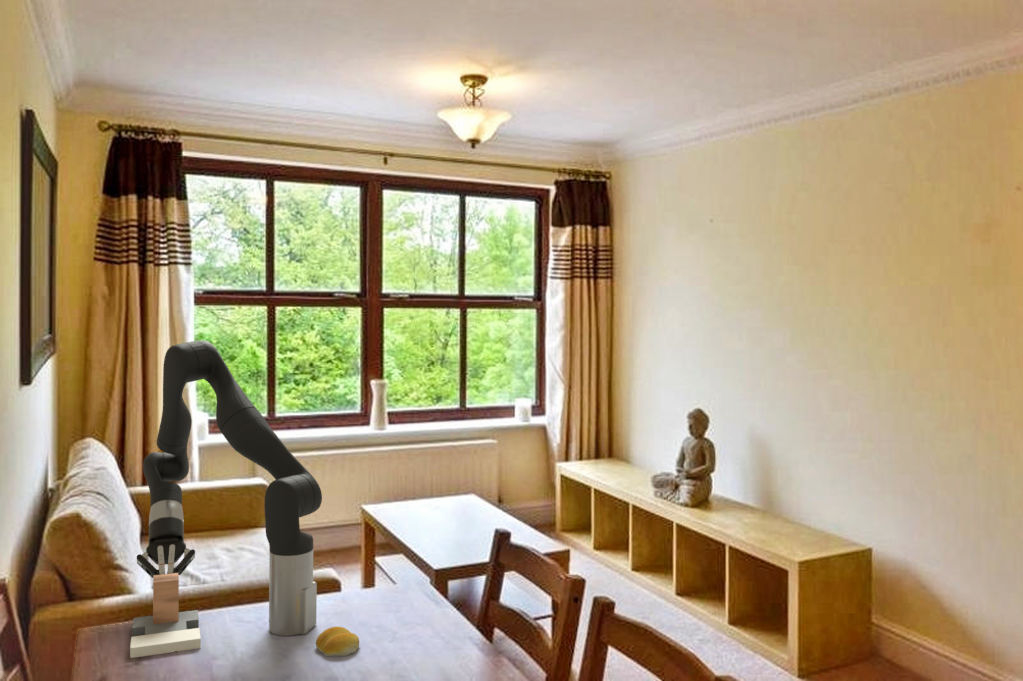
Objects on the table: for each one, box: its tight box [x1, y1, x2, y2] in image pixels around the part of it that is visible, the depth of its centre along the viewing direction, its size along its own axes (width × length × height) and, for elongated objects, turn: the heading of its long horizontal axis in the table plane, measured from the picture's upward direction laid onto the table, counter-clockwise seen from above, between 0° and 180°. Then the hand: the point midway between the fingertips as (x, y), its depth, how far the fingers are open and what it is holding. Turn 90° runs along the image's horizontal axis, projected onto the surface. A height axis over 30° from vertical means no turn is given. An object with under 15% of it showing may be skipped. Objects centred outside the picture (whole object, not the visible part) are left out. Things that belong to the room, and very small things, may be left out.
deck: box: [131, 609, 200, 637], centre depth 171 cm, size 11×13×2 cm
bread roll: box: [315, 626, 360, 657], centre depth 164 cm, size 8×9×4 cm
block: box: [152, 573, 180, 624], centre depth 173 cm, size 5×5×9 cm
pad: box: [129, 627, 202, 659], centre depth 163 cm, size 6×13×2 cm, turn 113°
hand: (166, 592), depth 178 cm, fingers closed
